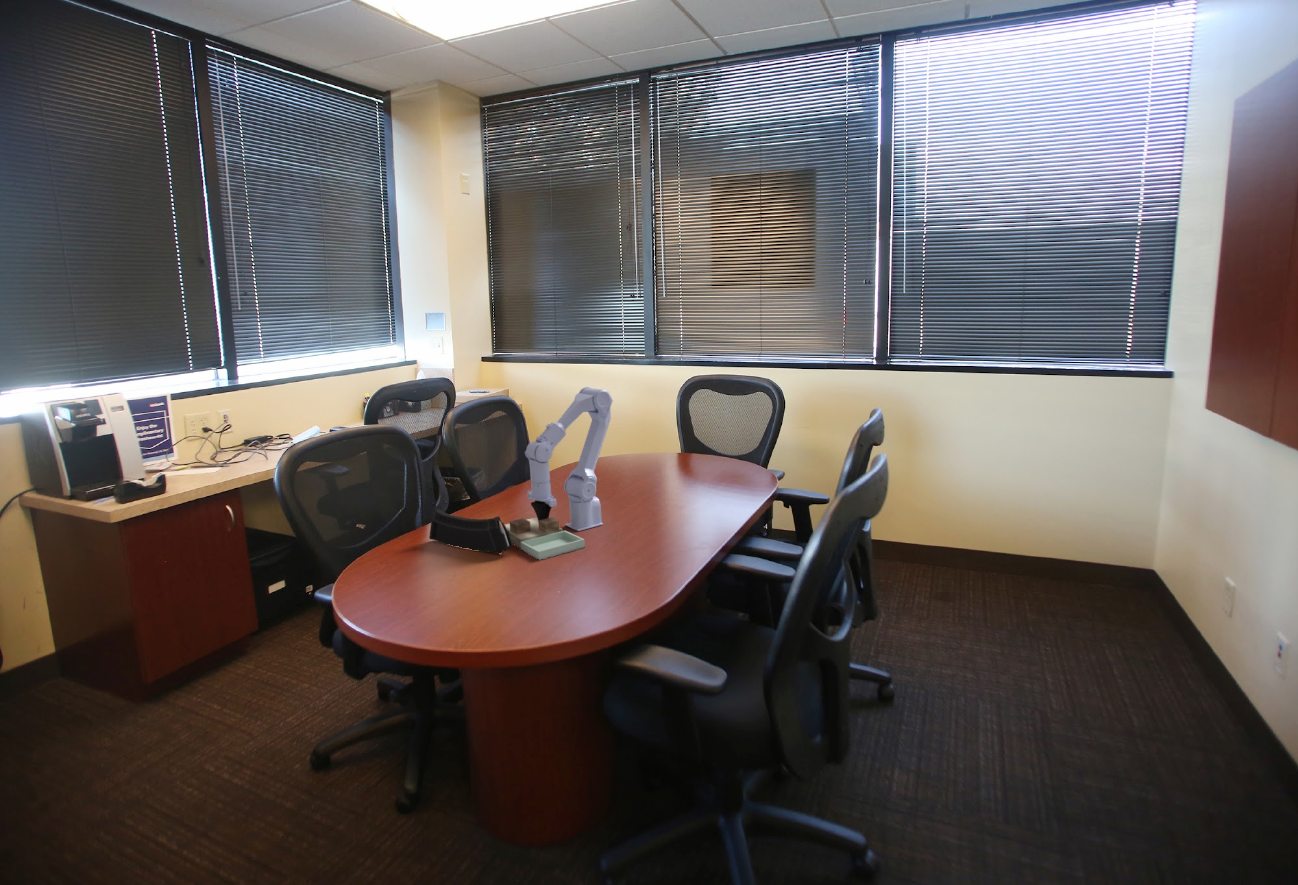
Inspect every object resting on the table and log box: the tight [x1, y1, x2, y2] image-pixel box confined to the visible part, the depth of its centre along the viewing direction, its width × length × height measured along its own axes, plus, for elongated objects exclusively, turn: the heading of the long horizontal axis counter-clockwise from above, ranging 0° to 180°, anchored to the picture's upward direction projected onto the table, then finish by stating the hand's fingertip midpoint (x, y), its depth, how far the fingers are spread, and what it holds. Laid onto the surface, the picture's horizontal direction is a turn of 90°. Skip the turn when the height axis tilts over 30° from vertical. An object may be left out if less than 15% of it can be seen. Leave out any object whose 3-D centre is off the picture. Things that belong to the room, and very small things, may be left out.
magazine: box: [428, 508, 514, 554], centre depth 208 cm, size 17×3×30 cm
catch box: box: [520, 530, 586, 561], centre depth 205 cm, size 15×11×2 cm
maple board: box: [504, 516, 564, 549], centre depth 216 cm, size 14×16×3 cm
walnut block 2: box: [538, 516, 560, 533], centre depth 213 cm, size 4×4×3 cm
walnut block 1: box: [509, 517, 531, 535], centre depth 213 cm, size 4×4×3 cm
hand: (543, 524), depth 216 cm, fingers closed
